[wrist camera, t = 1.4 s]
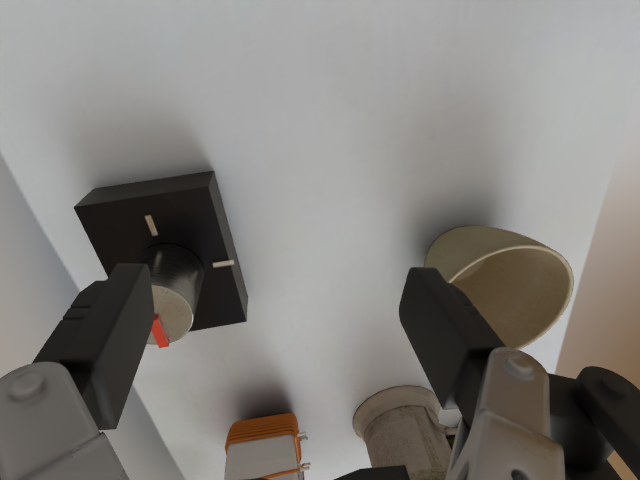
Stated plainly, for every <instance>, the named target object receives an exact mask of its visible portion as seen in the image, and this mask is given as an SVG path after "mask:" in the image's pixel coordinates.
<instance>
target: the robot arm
mask: <svg viewBox="0 0 640 480" xmlns="http://www.w3.org/2000/svg"><path fill="white" fill-rule="evenodd" d="M399 317H400V321H401V324H402V326H403V328H404V330H405V332H406V335H407V337H408V339H409V341H410V343H411V345H412V347H413V349H414V351H415V353H416V355H417V357H418V359H419V361H420V363H421V365H422V368H423V370H424V372H425V374H426V376H427V378H428V380H429V382H430V384H431V386H432V388H433V390H434V392H435V394H436V396H437V398H438V401H439V403H440V405H441V407H442V409H443V410H447V409H459V410H460V412H461V414H462V416H461V419H460V421H459V424H458V428H457V432H456V436H455V441H454V445H453V449H452V453H451V458H450V462H449V466H448V470H447V474H446V478H445V480H622V479H621V478H620V477H619V475H618V474H617V473H616V471H615V470H614V469H613V467H612V466H611V465H610V463H609V462H608V461H607V458H608V457H609V456H610V454H611V453H612V452H613V451H614V450H615V451H616V452H617V453H618V455H619V456H620V457H621V458H622V459H623V461H624V462H625V463H626V465H627V466H628V467H629V468H630V470H631V471H632V472H633V473H634V475H635V476H636V477H637V479H638V480H640V390H639V389H638V388H637V387H636V386H634V385H633V384H632V383H631V382H629V381H628V380H627V379H625V378H624V377H622V376H620V375H618V374H616V373H614V372H612V371H610V370H607V369H604V368H601V367H593V366H591V367H585V368H584V369H583V370H582V371H581V372H580V374H579V375H578V377H577V378H576V379H572V378H567V377H563V376H558V375H554V374H549V373H547V372H546V370H545V369H544V368H543V366H542V365H541V364H540V363H539V362H538V361H537V360H535V359H534V358H533V357H531V356H530V355H528V354H526V353H524V352H522V351H520V350H517V349H514V348H509V347H506V346H505V344H504V343H503V342H502V340H501V339H500V338H499V337H498V335H497V334H496V333H495V332H494V330H493V329H492V328H491V326H490V325H489V324H488V323H487V321H486V320H485V319H484V317H483V316H482V315H480V312H479V311H478V310H477V308H476V307H475V306H473V303H472V302H471V301H470V299H469V298H468V297H467V296H466V294H465V293H464V292H463V291H461V290H460V289H459V288H457V287H456V286H454V285H453V284H452V283H447V282H446V281H445V279H444V278H443V276H442V275H441V274H440V272H439V271H438V270H437V269H436V268H434V267H412V268H411V269H410V270H409V272H408V275H407V279H406V283H405V286H404V290H403V294H402V298H401V301H400V305H399ZM153 322H154V300H153V293H152V286H151V278H150V271H149V267H148V265H147V264H133V263H118V264H117V265H116V266H115V268H114V269H113V271H112V272H111V274H110V276H109V277H108V279H107V281H95V282H94V283H92V284H91V285H89V286H88V287H87V288H85V289H84V290H83V291H81V292H80V293H79V294H78V296H77V297H76V299H75V300H74V302H73V303H72V305H71V308H70V309H68V311H67V312H66V314H65V315H64V316H63V320H61V321H60V322H59V324H58V325H57V327H56V328H55V330H54V331H53V333H52V334H51V336H50V337H49V339H48V340H47V342H46V343H45V344H44V346H43V348H42V349H41V350H40V352H39V353H38V355H37V356H36V358H35V359H34V361H33V362H32V364H29V365H26V366H23V367H20V368H18V369H16V370H14V371H11V372H10V373H8V374H6V375H5V376H3V377H2V378H0V480H129V478H128V476H127V474H126V472H125V470H124V468H123V466H122V464H121V462H120V461H119V459H118V457H117V455H116V453H115V451H114V449H113V447H112V445H111V443H110V442H109V440H108V438H107V436H106V435H105V433H104V432H102V433H100V432H99V430H109V429H116V428H117V425H118V422H119V419H120V417H121V414H122V410H123V408H124V405H125V402H126V400H127V396H128V394H129V391H130V388H131V386H132V383H133V380H134V377H135V374H136V372H137V369H138V366H139V363H140V360H141V358H142V355H143V352H144V349H145V346H146V344H147V341H148V338H149V335H150V332H151V330H152V326H153ZM244 480H270V479H264V478H255V479H244ZM334 480H410V478H409V475H408V472H407V469H406V466H405V465H398V466H387V467H376V468H365V469H359V470H357V471H354V472H352V473H349V474H347V475H344V476H342V477H339V478H337V479H334Z"/></svg>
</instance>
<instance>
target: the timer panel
mask: <svg viewBox="0 0 640 480" xmlns="http://www.w3.org/2000/svg"><path fill="white" fill-rule="evenodd" d="M74 209H75V211H76V213H77V215H78V217H79V219H80V221H81V223H82V225H83V227H84V229H85V231H86V233H87V235H88V237H89V239H90V241H91V243H92V245H93V247H94V249H95V252H96V254H97V256H98V258H99V260H100V262H101V264H102V266H103V268H104V270H105V272H106V274H107V276H108V277H109V276H110V274H111V272H112V271H113V269H114V268H115V266H116V265H117V264H118V263H133V264H134V263H135V262H136V260H137V258H138V256H139V255H140V254H141V253H142V252H143V251H144V250H146V249H147V248H149V247H152V246H155V245H159V244H174V245H178V246H181V247H184V248H186V249H188V250H189V251H191V252H192V253H193V254H195V255H196V256H197V258H198V259H199V260H200V262H201V264H202V266H203V270H204V278H203V282H202V286H201V290H200V295H199V299H198V303H197V307H196V311H195V315H194V319H193V323H192V326H191V328H190V330H189V331H195V330H201V329H206V328H212V327H218V326H223V325H229V324H235V323H240V322H246V321H247V304H248V295H247V292H246V288H245V284H244V280H243V277H242V273H241V269H240V266H239V262H238V258H237V254H236V251H235V247H234V243H233V240H232V236H231V232H230V228H229V225H228V221H227V217H226V214H225V210H224V206H223V202H222V199H221V195H220V191H219V188H218V184H217V180H216V176H215V173H214V171H208V172H202V173H195V174H188V175H182V176H175V177H168V178H162V179H155V180H148V181H142V182H135V183H129V184H122V185H115V186H109V187H102V188H95V189H93V190H92V191H91V192H90V193H88V194H87V195H86V196H85V197H84V198H83V199H82V200H81V201H80V202H79V203H78V204H77V205H75V206H74ZM104 281H107V280H104ZM189 331H188V332H189Z"/></svg>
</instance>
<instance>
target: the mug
mask: <svg viewBox="0 0 640 480" xmlns="http://www.w3.org/2000/svg"><path fill="white" fill-rule="evenodd" d="M439 410H440V405H439V401H438V398H437V397H436V396H435V395H434V394H433V393H432V392H431V391H429V390H427V389H424V388H422V387H417V386H400V387H393V388H390V389H387V390H384V391H381V392H379V393H377V394H375V395H374V396H372V397H370V398H368V399H367V400H366V401H365V402H364V403H363V404H362V405H361V406H360V407H359V408H358V410H357V411H356V413H355V415H354V418H353V428H354V430H355V432H356V434H357V435H358V436H359V437H360V438H362V439H363V440H364V441H365V443H366V446H367V450H368V454H369V458H370V462H371V466H372V468H376V467H387V466H398V465H405V466H406V469H407V472H408V475H409V478H410V480H445V478H446V474H447V470H448V466H449V462H450V458H451V453H452V450H451V448H450V446H449V444H448V441H447V439H446V437H445V435H449V434H452V435H455V434H456V432H457V428H453V429H452V428H449V427H447V426H444V425H442V424H440V423H439V420H438V414H439ZM444 434H445V435H444Z"/></svg>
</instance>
